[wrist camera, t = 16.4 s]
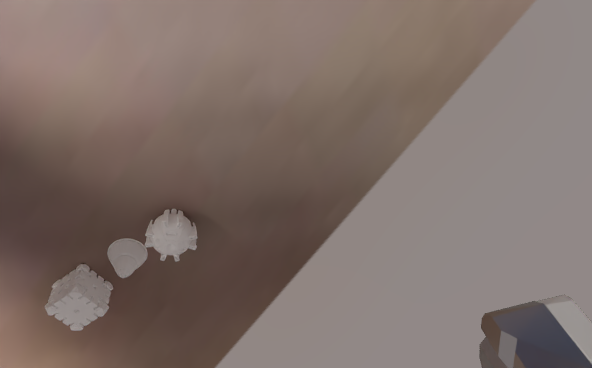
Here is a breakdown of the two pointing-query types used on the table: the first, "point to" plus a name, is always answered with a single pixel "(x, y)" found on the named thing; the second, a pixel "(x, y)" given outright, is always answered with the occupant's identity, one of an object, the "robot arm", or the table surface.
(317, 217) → the table surface
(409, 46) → the table surface
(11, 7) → the table surface
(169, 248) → the game pieces
